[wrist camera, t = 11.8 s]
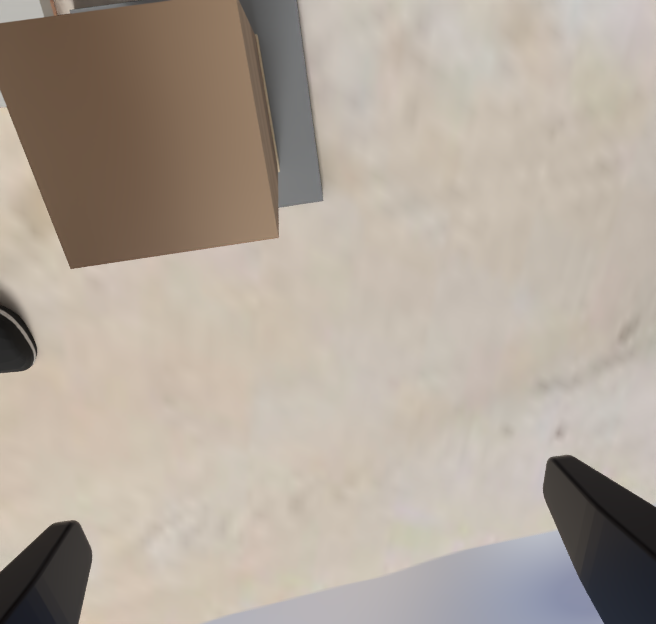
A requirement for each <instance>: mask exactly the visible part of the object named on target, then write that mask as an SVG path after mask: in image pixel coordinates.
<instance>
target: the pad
mask: <svg viewBox="0 0 656 624" xmlns="http://www.w3.org/2000/svg"><path fill="white" fill-rule="evenodd" d="M162 1H170V0H140V1H132V2H125V3H118V4H110V5H103V6H96V7H88V8H81V9H74V10H70V13H71V14H72V13H80V12H87V11H95V10H102V9H110V8H117V7H125V6H132V5H140V4H147V3H155V2H162ZM239 2H240V4H241V6H242V8H243V10H244V12H245V15H246V17H247V19H248V21H249V23H250V25H251V27H252V30H253V32H254V34H257V35H258V39H259V45H260V51H261V57H262V63H263V69H264V75H265V81H266V87H267V93H268V99H269V105H270V111H271V117H272V123H273V129H274V135H275V141H276V147H277V154H278V160H279V166H280V172H278V208H279V207H286V206H293V205H299V204H306V203H312V202H319V201H323V196H322V188H321V181H320V173H319V166H318V158H317V151H316V143H315V136H314V128H313V120H312V113H311V105H310V98H309V90H308V83H307V75H306V68H305V60H304V53H303V45H302V38H301V30H300V23H299V15H298V7H297V0H239Z"/></svg>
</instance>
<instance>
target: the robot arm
mask: <svg viewBox="0 0 656 624" xmlns="http://www.w3.org/2000/svg"><path fill="white" fill-rule="evenodd" d="M543 494H544V498H545V501H546V503H547V506H548V508H549V510H550V512H551V515H552V517H553V519H554V522H555V524H556V526H557V529H558V531H559V533H560V535H561V538H562V540H563V543H564V545H565V547H566V549H567V552H568V554H569V556H570V559H571V561H572V563H573V565H574V568H575V570H576V572H577V574H578V576H579V579H580V580H581V582H582V584H583V586H584V588H585V590H586V592H587V594H588V595H589V597H590V599H591V601H592V603H593V604H594V606H595V608H596V610H597V611H598V613H599V615H600V617H601V619H602V621H603V622H604V624H656V507H655V506H653V505H652V504H650V503H648V502H647V501H645V500H643V499H642V498H640V497H639V496H637V495H635V494H634V493H632V492H630V491H629V490H627V489H626V488H624V487H622V486H621V485H619V484H617V483H616V482H614V481H613V480H611V479H609V478H608V477H606V476H604V475H603V474H601V473H600V472H598V471H596V470H595V469H593V468H591V467H590V466H588V465H587V464H585V463H583V462H582V461H580V460H578V459H577V458H575V457H573V456H571V455H563V456H555V457H551V458H549V459H548V461H547V464H546V471H545V477H544V484H543ZM91 563H92V550H91V547H90V545H89V542H88V540H87V538H86V536H85V534H84V532H83V530H82V527H81V525H80V524H79V522H77V521H74V520H71V521H64V522H57V523H54V524H52V525H51V526H49V527H48V528H47V529H46V530H45V531H44V532H43V533H42V534H41V535H39V536H38V537H37V538H36V539H35V540H34V541H33V542H32V543H31V544H30V545H29V546H28V547H27V548H26V549H24V550H23V551H22V552H21V553H20V554H19V555H18V556H17V557H16V558H15V559H14V560H13V561H12V562H11V563H9V564H8V565H7V566H6V567H5V568H4V569H3V570H2V571H1V572H0V624H78V623H79V618H80V614H81V609H82V605H83V600H84V595H85V591H86V586H87V582H88V577H89V572H90V568H91Z"/></svg>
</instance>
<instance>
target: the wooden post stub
mask: <svg viewBox="0 0 656 624" xmlns="http://www.w3.org/2000/svg"><path fill="white" fill-rule="evenodd" d="M0 91H1V93H2V96H3V98H4V101H5V103H6V106H7V109H8V111H9V114H10V116H11V119H12V121H13V124H14V126H15V129H16V131H17V134H18V136H19V139H20V142H21V144H22V147H23V149H24V152H25V154H26V157H27V159H28V162H29V164H30V167H31V169H32V172H33V175H34V177H35V180H36V182H37V185H38V187H39V190H40V192H41V195H42V197H43V200H44V202H45V205H46V208H47V210H48V213H49V215H50V218H51V220H52V223H53V225H54V228H55V230H56V233H57V235H58V238H59V241H60V243H61V246H62V248H63V251H64V253H65V256H66V258H67V261H68V263H69V266H70V268H71V269H74V268H80V267H87V266H94V265H100V264H107V263H114V262H120V261H127V260H134V259H140V258H147V257H154V256H160V255H167V254H174V253H180V252H187V251H194V250H200V249H207V248H214V247H220V246H227V245H234V244H240V243H247V242H254V241H260V240H267V239H274V238H279V220H278V172H280V166H279V160H278V154H277V147H276V141H275V135H274V129H273V123H272V117H271V111H270V105H269V99H268V93H267V87H266V81H265V75H264V69H263V63H262V57H261V51H260V45H259V39H258V35H257V34H254V32H253V30H252V27H251V25H250V23H249V21H248V19H247V17H246V15H245V12H244V10H243V8H242V6H241V4H240V2H239V0H170V1H162V2H155V3H147V4H140V5H132V6H125V7H117V8H110V9H102V10H95V11H87V12H80V13H72V14H64V15H57V16H49V17H42V18H34V19H27V20H19V21H12V22H4V23H0Z"/></svg>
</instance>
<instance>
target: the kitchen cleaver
mask: <svg viewBox="0 0 656 624" xmlns="http://www.w3.org/2000/svg"><path fill="white" fill-rule="evenodd" d="M36 356H37V347H36V344H35V341H34V339H33V337H32V335H31V333H30V331H29V329H28V328H27V326H26V325H25V323H24V322H23V320H22V319H21V318H20V317H19V316H18V315H17V314H16V313H14V312H13V311H12V310H10V309H8V308H6V307H4V306H1V305H0V373H7V372H18V371H24V370H27V369H28V368H30V367H31V366H33V364H34V362H35V359H36Z"/></svg>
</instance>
